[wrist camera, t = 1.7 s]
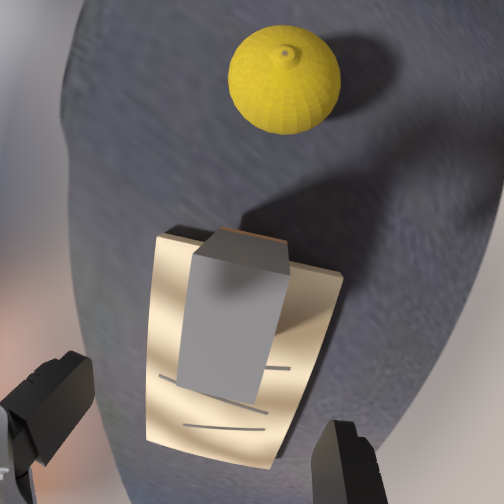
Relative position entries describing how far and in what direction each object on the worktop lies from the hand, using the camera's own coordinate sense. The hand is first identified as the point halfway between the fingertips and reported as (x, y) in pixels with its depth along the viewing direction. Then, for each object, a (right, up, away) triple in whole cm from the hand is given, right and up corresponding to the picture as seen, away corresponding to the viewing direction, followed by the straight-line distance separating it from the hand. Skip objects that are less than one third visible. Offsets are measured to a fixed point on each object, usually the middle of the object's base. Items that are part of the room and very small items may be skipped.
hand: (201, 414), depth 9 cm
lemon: (+4, +15, +9) cm, 18 cm away
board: (0, -4, +14) cm, 15 cm away
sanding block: (+1, +3, +11) cm, 11 cm away
